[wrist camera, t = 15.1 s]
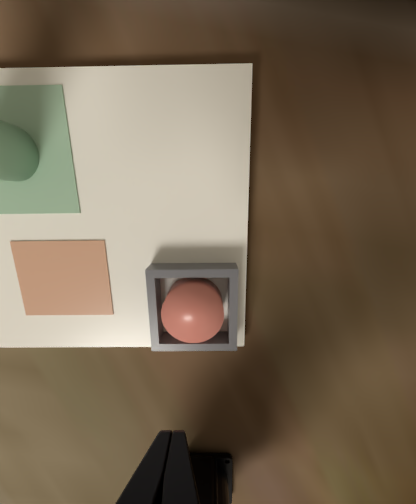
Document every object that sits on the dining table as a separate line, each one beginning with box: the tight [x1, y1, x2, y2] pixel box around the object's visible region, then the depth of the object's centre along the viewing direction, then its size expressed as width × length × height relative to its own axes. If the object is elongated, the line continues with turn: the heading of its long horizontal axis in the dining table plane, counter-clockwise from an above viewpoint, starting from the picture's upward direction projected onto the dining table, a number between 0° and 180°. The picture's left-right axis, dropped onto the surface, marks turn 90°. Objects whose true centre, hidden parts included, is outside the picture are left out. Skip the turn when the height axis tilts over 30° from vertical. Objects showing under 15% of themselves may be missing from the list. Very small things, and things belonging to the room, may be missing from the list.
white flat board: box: [0, 63, 253, 351], centre depth 16 cm, size 20×22×3 cm
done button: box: [161, 278, 224, 343], centre depth 17 cm, size 4×4×2 cm
